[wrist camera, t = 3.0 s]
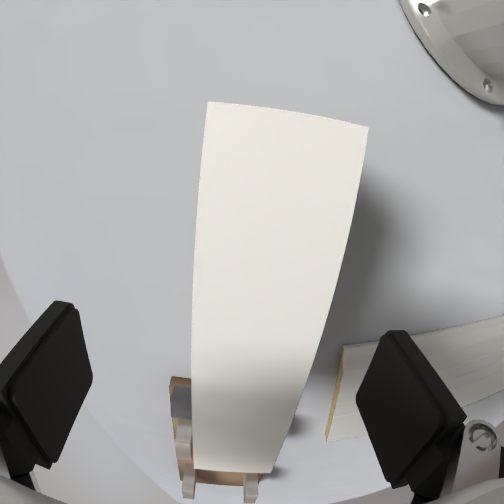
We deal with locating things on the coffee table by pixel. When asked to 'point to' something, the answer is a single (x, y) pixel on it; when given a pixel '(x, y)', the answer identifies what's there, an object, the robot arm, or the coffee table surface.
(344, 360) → the baseboard molding
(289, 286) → the cabinet door
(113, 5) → the coffee table surface
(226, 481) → the hinge mount
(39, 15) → the coffee table surface
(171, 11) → the coffee table surface
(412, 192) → the coffee table surface
